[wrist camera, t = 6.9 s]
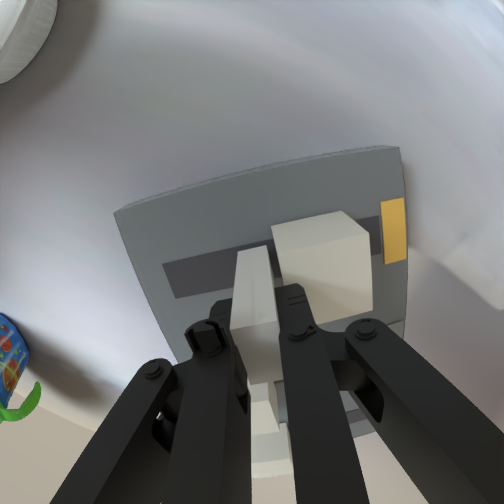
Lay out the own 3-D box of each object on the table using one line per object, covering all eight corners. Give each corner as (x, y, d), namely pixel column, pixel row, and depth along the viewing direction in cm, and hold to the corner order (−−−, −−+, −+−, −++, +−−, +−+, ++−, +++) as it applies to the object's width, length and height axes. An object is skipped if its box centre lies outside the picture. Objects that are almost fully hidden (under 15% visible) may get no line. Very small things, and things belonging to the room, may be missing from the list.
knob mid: (227, 398, 20) (224, 437, 17) (211, 364, 19) (204, 407, 15) (276, 390, 20) (279, 431, 16) (266, 356, 19) (268, 400, 15)
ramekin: (7, 1, 9) (-23, -8, 4) (87, -31, 10) (57, -55, 5) (-23, 99, 13) (-60, 102, 8) (46, 83, 14) (0, 77, 9)
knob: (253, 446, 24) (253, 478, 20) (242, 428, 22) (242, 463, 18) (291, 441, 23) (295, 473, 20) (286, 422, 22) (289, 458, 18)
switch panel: (238, 441, 27) (237, 459, 25) (128, 204, 17) (112, 213, 15) (381, 412, 26) (387, 428, 24) (381, 145, 16) (400, 147, 14)
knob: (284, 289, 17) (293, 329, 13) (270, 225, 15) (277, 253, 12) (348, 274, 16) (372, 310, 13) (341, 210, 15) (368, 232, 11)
